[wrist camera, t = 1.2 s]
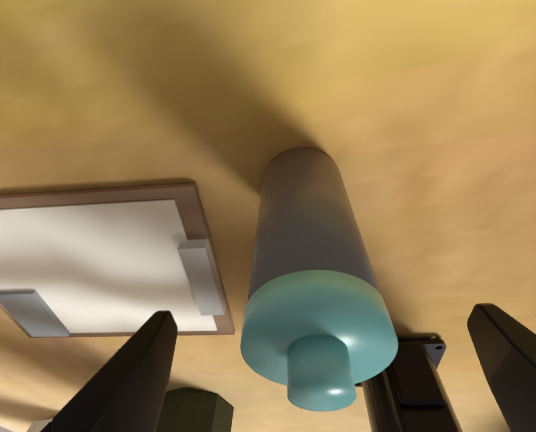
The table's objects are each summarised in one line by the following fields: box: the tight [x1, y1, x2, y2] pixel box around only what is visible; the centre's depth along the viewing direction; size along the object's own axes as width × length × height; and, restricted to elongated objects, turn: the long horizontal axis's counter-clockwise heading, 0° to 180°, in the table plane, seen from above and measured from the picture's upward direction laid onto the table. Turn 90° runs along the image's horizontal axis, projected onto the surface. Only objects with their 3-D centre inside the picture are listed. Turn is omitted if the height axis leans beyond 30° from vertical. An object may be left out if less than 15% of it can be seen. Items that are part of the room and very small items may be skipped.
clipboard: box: [0, 183, 235, 338], centre depth 19 cm, size 13×17×1 cm
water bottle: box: [240, 147, 398, 411], centre depth 11 cm, size 4×4×10 cm
